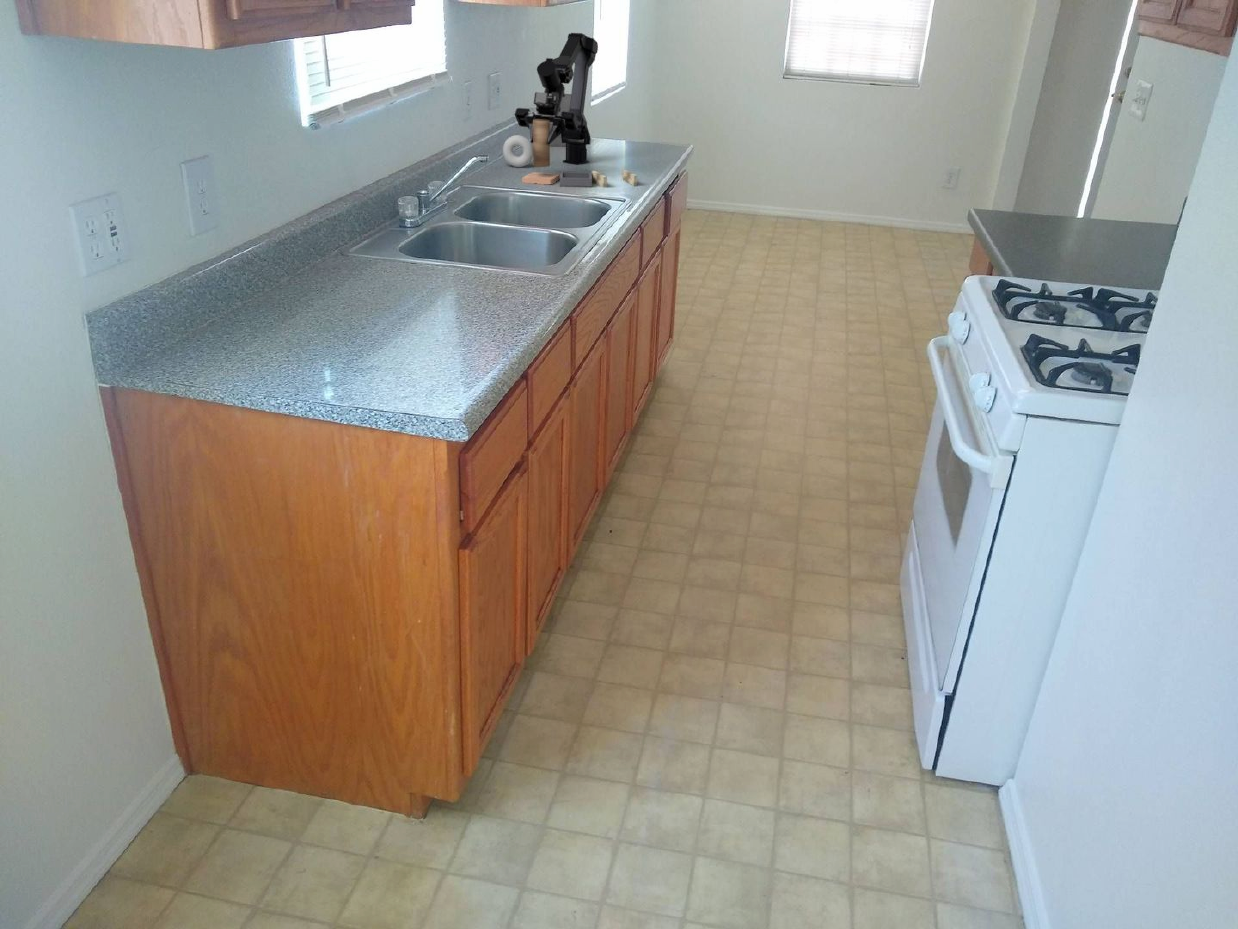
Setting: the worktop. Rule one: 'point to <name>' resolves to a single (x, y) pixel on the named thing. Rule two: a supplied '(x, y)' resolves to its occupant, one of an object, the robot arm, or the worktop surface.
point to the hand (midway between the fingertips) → (539, 142)
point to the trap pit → (576, 179)
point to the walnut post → (541, 143)
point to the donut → (524, 144)
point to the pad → (540, 178)
